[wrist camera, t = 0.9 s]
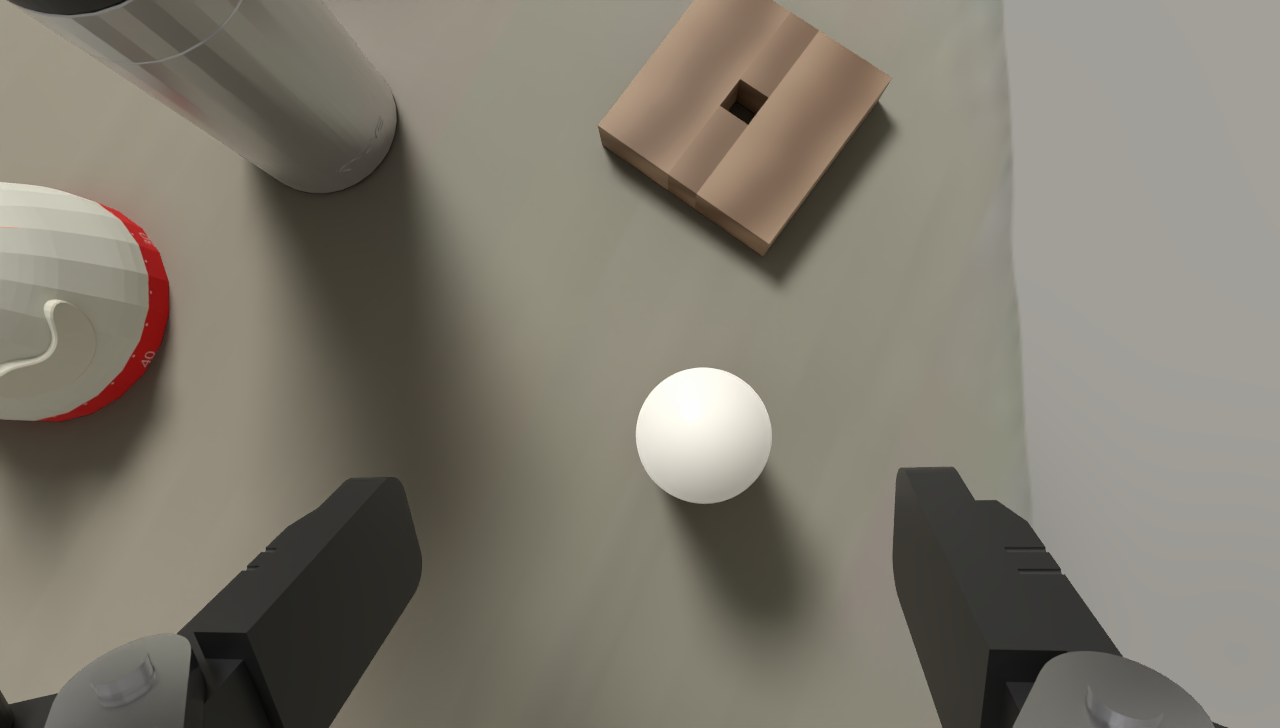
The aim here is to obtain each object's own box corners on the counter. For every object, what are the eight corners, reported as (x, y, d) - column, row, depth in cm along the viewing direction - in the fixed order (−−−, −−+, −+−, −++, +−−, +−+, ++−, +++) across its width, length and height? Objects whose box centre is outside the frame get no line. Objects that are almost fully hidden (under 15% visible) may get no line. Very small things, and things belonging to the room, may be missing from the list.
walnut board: (602, 144, 40) (597, 125, 38) (717, -5, 41) (720, -34, 39) (762, 256, 39) (769, 244, 37) (878, 100, 40) (892, 77, 37)
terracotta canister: (624, 446, 38) (609, 449, 28) (683, 366, 39) (688, 341, 29) (705, 507, 38) (719, 531, 28) (765, 425, 38) (798, 420, 28)
